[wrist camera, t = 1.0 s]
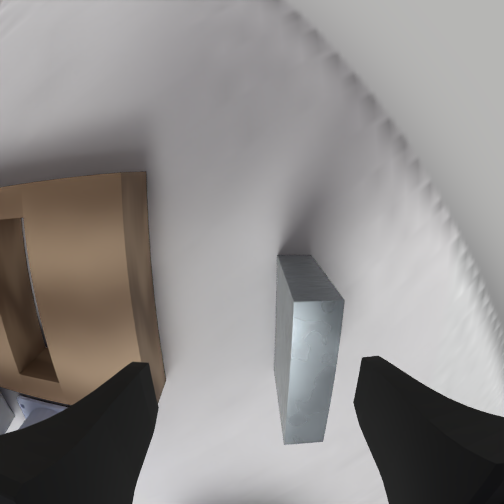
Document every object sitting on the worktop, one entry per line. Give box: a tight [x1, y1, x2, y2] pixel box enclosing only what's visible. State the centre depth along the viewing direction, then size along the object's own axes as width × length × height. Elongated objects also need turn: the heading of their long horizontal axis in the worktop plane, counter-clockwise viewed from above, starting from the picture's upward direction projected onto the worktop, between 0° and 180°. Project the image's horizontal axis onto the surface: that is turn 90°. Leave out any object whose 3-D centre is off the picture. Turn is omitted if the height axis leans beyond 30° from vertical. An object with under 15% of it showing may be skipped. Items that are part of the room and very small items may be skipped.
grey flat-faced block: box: [274, 255, 344, 445], centre depth 17 cm, size 8×2×7 cm, turn 0°
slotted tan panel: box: [0, 172, 166, 405], centre depth 17 cm, size 14×16×4 cm
